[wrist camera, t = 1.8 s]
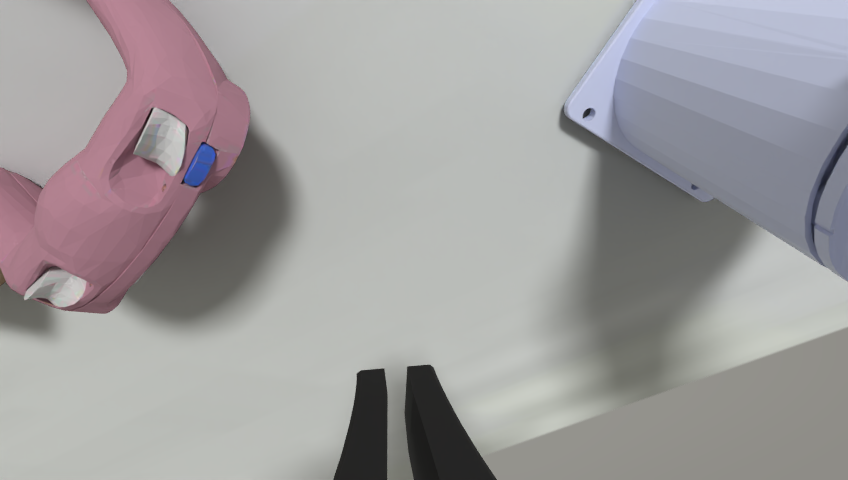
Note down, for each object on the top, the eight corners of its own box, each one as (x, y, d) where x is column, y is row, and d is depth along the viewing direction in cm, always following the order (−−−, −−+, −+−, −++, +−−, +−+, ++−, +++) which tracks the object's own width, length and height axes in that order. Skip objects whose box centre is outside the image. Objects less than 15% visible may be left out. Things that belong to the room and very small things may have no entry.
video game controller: (109, 214, 18) (120, 358, 14) (-48, 176, 14) (-88, 357, 10) (242, 30, 15) (300, 152, 11) (89, -79, 11) (100, 48, 7)
